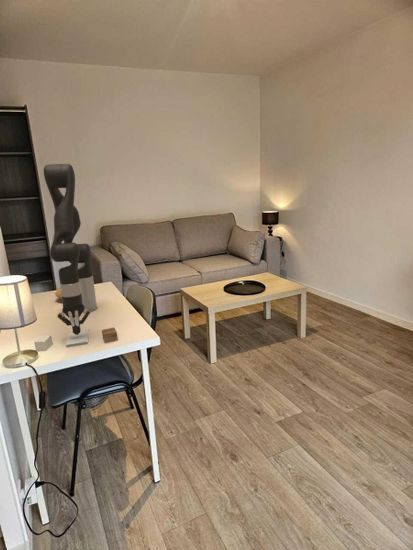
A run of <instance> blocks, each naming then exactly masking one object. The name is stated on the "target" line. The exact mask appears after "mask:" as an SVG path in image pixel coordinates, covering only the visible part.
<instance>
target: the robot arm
mask: <svg viewBox="0 0 413 550" xmlns="http://www.w3.org/2000/svg"><path fill="white" fill-rule="evenodd" d="M43 177H44V180H45V184H46V186H47V189H48V192H49V196H50V197H51V201H52V204H53V209H54V211H55V212H54V215H53V216H54V217H53V227H54V230H53V231H54V234H53V239H52V243H51V247H50V250H49V251H50V253H49V255H50V258H51V260H52V261H54V262H55V263H61V262H62V263H63V262H69V263H70V264H69V265H68V266H64V267H61V268H60V269H58V278H59V288H60V290H61V297H62V299H61V302H62V310H61V311H60V312H59V313H58V314H57V318H58V319H59V320H60V321H61V322H63V323H64V324H65V326H71V329H72V332H73V333H74V334H75V335H78V334H79V333H80V331H82V330H81V325H83V324H85V321H87V319H88V317H89V316H90V314H91V312H93V311H96V310H97V309H98V305H97V297H96V289H95V281H94V273H93V266H92V254H91V253H92V252H91V247H90V245H89V244H88V243H76V242H73V241H74V239H75V236H76V235H77V233H78V231H79V230H80V229H81V224H82V223H81V217H80V214H79V213H80V212H79V211H78V208H77V207H76V206H75V204H74V203H75V193H76V191H75V190H76V174H75V170H74V168H73V166H72V165H71V164H70V163H52V164H51V163H50V164H46V165H45V166H44V167H43ZM60 189H65V193H64V195H63V194H62V192H61V190H60ZM79 264H83V266H81V267H80V268H79ZM82 314H83V316H82ZM81 316H82V318H81ZM68 318H69V319H68ZM80 318H81V319H80Z"/></svg>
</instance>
